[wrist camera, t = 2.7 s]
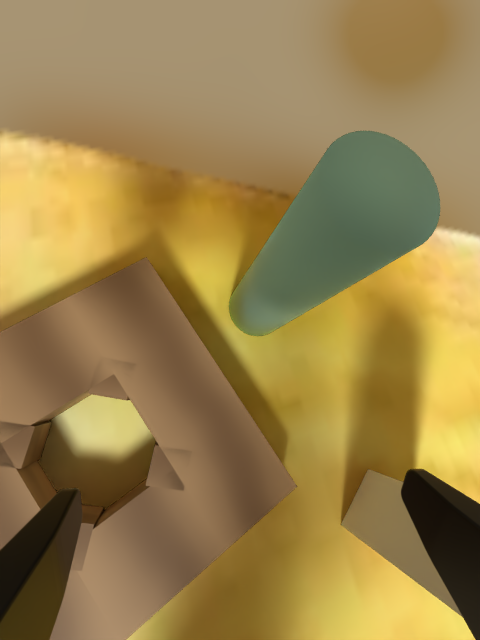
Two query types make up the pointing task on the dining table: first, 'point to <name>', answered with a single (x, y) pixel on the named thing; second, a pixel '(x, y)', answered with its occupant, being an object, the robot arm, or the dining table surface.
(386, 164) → the round dowel
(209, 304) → the dining table surface
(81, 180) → the dining table surface
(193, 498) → the socket board
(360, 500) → the square dowel
